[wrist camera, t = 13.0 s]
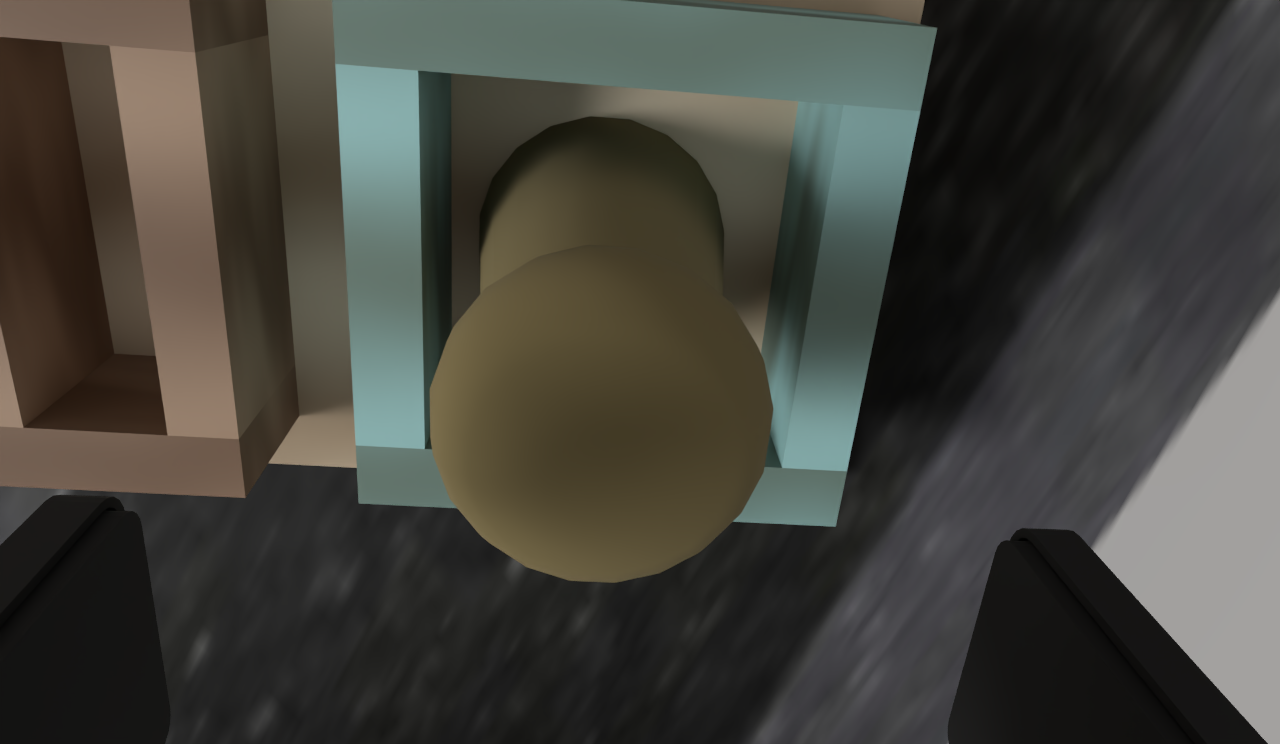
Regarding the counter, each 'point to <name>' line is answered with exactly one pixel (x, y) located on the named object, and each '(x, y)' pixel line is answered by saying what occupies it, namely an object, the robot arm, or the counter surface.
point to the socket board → (405, 217)
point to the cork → (600, 362)
